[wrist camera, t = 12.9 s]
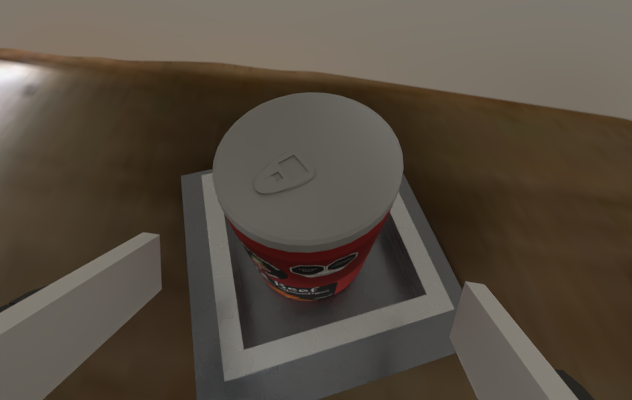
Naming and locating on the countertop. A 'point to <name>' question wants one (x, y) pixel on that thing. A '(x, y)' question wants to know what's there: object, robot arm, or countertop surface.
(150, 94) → the countertop surface
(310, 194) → the canned food
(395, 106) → the countertop surface
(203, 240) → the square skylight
